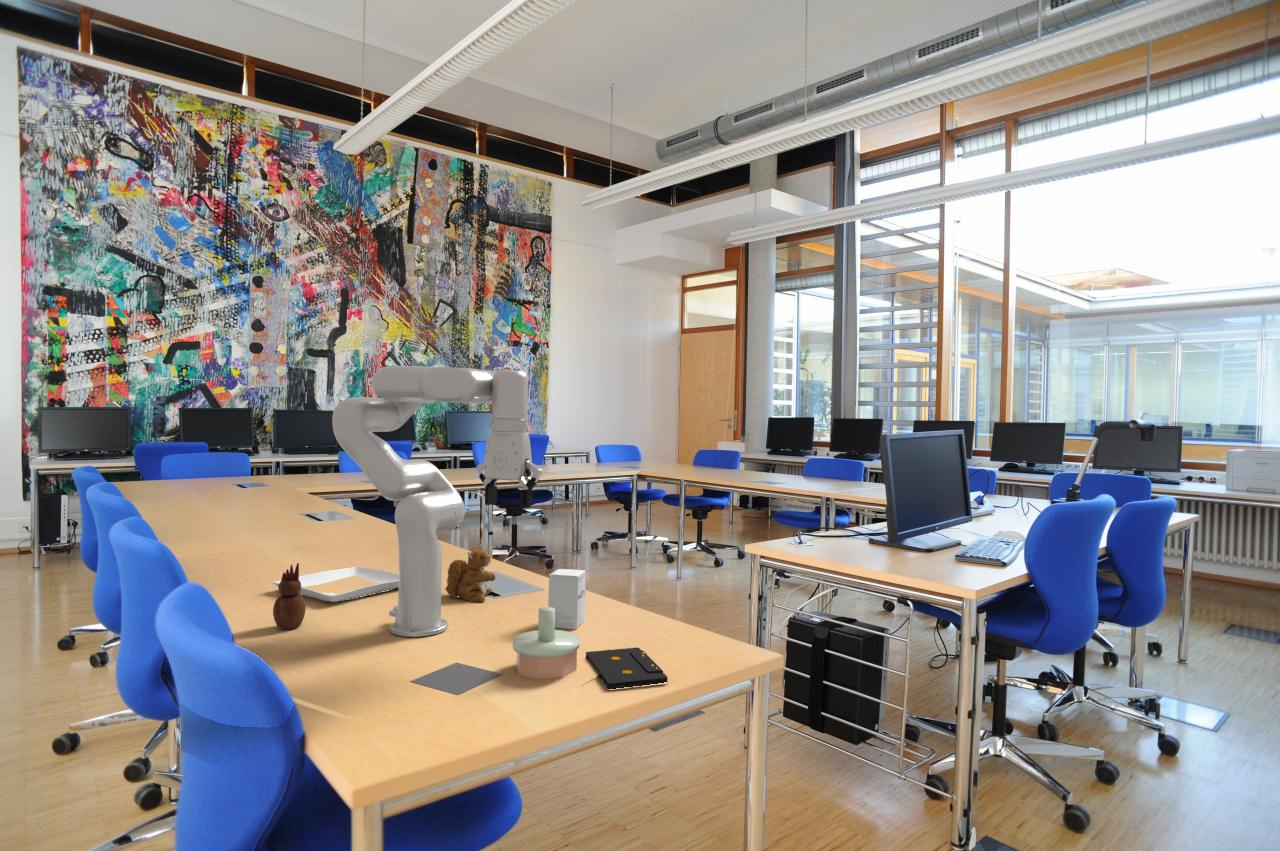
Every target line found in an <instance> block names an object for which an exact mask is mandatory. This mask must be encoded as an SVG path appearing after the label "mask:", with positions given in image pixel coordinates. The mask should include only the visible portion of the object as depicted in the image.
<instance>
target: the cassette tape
mask: <svg viewBox="0 0 1280 851" xmlns="http://www.w3.org/2000/svg"><path fill="white" fill-rule="evenodd" d="M585 660H588V661H589V662H590V664H591V665H592V667H593V668H594V669H595V670H596V672H597V673H598V675H597V676H598V678H599V677H600V678H599V680H600V681H601V680H602V681H603V682H602V681H601V682H602V683H603V685H604V684H605V685H606V686H607V687H606V686H605V685H604V686H605V687H606V689H607V688H608V689H616V688H624V687H633V686H642V685H650V684H658V683H664V682H667V683H668V676H667V675H666V674H665V673H664V671H663V669H662V668H661V666H659V665H658V664H657V663H656V662H655V661H654V660H653V659H652V657H650V656H649V655H648V654H647V653H646V652H645V651H644V650H643V649H641V648H639V647H626V648H618V649H617V648H616V649H604V650H593V651H586V652H585ZM608 689H607V690H608Z"/></svg>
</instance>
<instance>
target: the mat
mask: <svg viewBox="0 0 1280 851" xmlns="http://www.w3.org/2000/svg"><path fill="white" fill-rule="evenodd" d="M503 675H504V673H500V672H497V671H492V670H488V669H484V668H480V667H477V666H472V665H467V664H463V663H460V662H455V663H451V664H449V665H447V666H445V667H441V668H439V669H437V670H435V671H432V672H430V673H427V674H425V675H422V676H420V677H417V678H414V679H412V680H410V681H409V682H410V683H413V684H416V685H420V686H423V687H426V688H427V687H428V688H430V689H434V690H437V691H442V692H446V693H449V694H452V695H456V696H460V695H462V694H464V693H466V692H469V691H471V690H473V689H475V688H477V687H479V686H481V685H483V684H486V683H488V682H490V681H492V680H494V679H497V678H498V677H501V676H503Z"/></svg>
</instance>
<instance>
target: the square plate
mask: <svg viewBox="0 0 1280 851" xmlns="http://www.w3.org/2000/svg"><path fill="white" fill-rule="evenodd" d="M350 576H351V577H352V576H357V577H360V578H363V579H366V580H370V581H372V582H376V583H379V584H375V585H371V586H367V587H362V588H359V589H355V590H352V591H348V592H345V593H341V594H335V593H333V592H332V593H325V592H324V593H323V594H322V593H319V592H316V591H313V590H310V589H307V588H303V587H307V586H313V585H319V584H323V583H328V582H332V581H335V580H339V579H343V578H346V577H350ZM281 580H282V579H279V580H275V581H273V582H272V584H274V585H275V586H277V588H278V587H279V583H280V582H281ZM299 581H300V582H301V591H300V593H299V594H302V595H301V596H303V595H306V596H305V597H307V596H310V597H309V598H311V597H314V598H313V599H315V598H317V599H316V600H319V599H321V601H323V600H325V601H324V602H327V601H330V602H329V603H339V602H338V601H342V602H344V601H343V600H347V599H352V598H356V597H360V596H364V595H369V594H373V593H378V592H382V591H386V590H391V589H393V590H395V589H399V572H398V573H397V572H392V571H389V570H388V571H387V570H382V569H376V568H369V567H363V566H352V567H345V568H340V569H332V570H326V571H325V570H324V571H318V572H314V573H308V574H303V575H299ZM391 591H392V590H391ZM299 594H298V595H299Z"/></svg>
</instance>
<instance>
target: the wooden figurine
mask: <svg viewBox="0 0 1280 851" xmlns="http://www.w3.org/2000/svg"><path fill="white" fill-rule="evenodd" d="M281 576H282V577H281V579H280V580H281V582H280V583H279V587H278V586H277V588H278V593H279V595H280V596H277V597H276V599H275V602H274V603H273V609H272V616H273V619H274V623H275V625H276V626H277V627H278V628H280V629H282V630H293V629H294V630H295V629H297V628H299V627H301V625H302V623H303V622H304V619H305V614H306V609H307V608H306V607H307V606H306V602H305V598H304V596H303V595H299V593H300V591H301V582H300V581H299V576H300V564H299V562H296V565H295V569H294V568H293V564H290V568H289V569H288V568H287V569H286V571H285V572H283V573H282V575H281Z"/></svg>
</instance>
